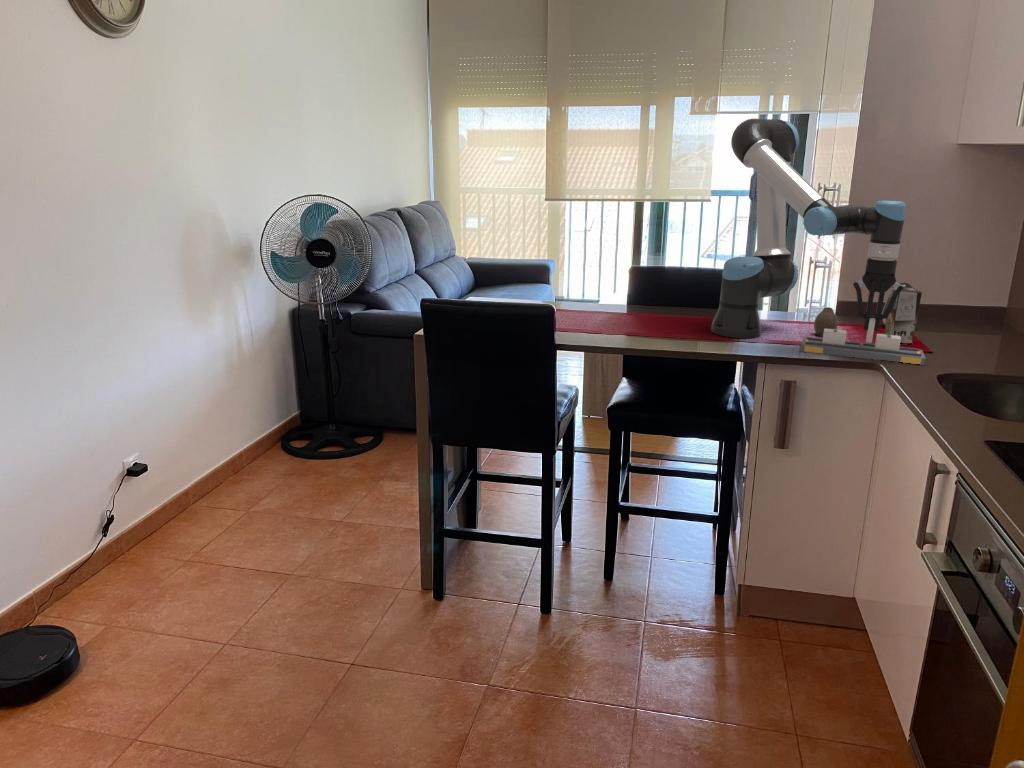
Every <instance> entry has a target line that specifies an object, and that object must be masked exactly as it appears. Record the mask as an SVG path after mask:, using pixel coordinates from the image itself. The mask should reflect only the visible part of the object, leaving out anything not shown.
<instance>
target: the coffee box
mask: <svg viewBox="0 0 1024 768" xmlns="http://www.w3.org/2000/svg"><path fill="white" fill-rule="evenodd" d="M893 287H894V286H891V287H890V293H889V295H890V297H891V295H892V293H893V291H894V290H893ZM922 294H923V292H921V291H919V290H917V288H914V287H913V288H910V287H903V290H902V291H901V292H900V293H899V294H898V296H897V298H896V300H895V302H894V305H893V307H892V309H891V311H890V313H889V316H888V318H886V323H885V324H884V330H883V334H885V335H887V334H890V335H895V336H900V337H901V342H902V343H912V344H913V341H914V337H915V336H914V335H915V330H916V325H917V320H918V314H919V310H920V305H921V299H922ZM889 300H890V299H889Z"/></svg>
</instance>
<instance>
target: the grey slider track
mask: <svg viewBox="0 0 1024 768" xmlns="http://www.w3.org/2000/svg"><path fill="white" fill-rule="evenodd" d="M822 340H823V338H820V337H809V336H806V337H805V336H804V337H803V336H802V340H801V344H800V352H802V353H808V354H809V353H811V354H818V355H819V354H820V355H829V356H835V357H836V356H839V357H844V356H845V357H847V358H853V357H855V358H856V359H862V358H863V359H865V360H871V359H873V360H874V361H880V360H888V361H887V362H889V361H896V362H895V363H898V362H903V363H902V364H906V363H911V364H910V365H915V364H920V365H919V366H925V365H926V364H925V363H926V361H927V360H926V359H927V357H926V355H925V353H924V351H923V349H920V348H915V347H905V346H900V348H899V351H891V350H882V349H875V343H866V342H857V341H848V340H845V345H836V344H826V343H822ZM845 357H844V358H845ZM863 359H862V360H863ZM873 360H872V361H873Z"/></svg>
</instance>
